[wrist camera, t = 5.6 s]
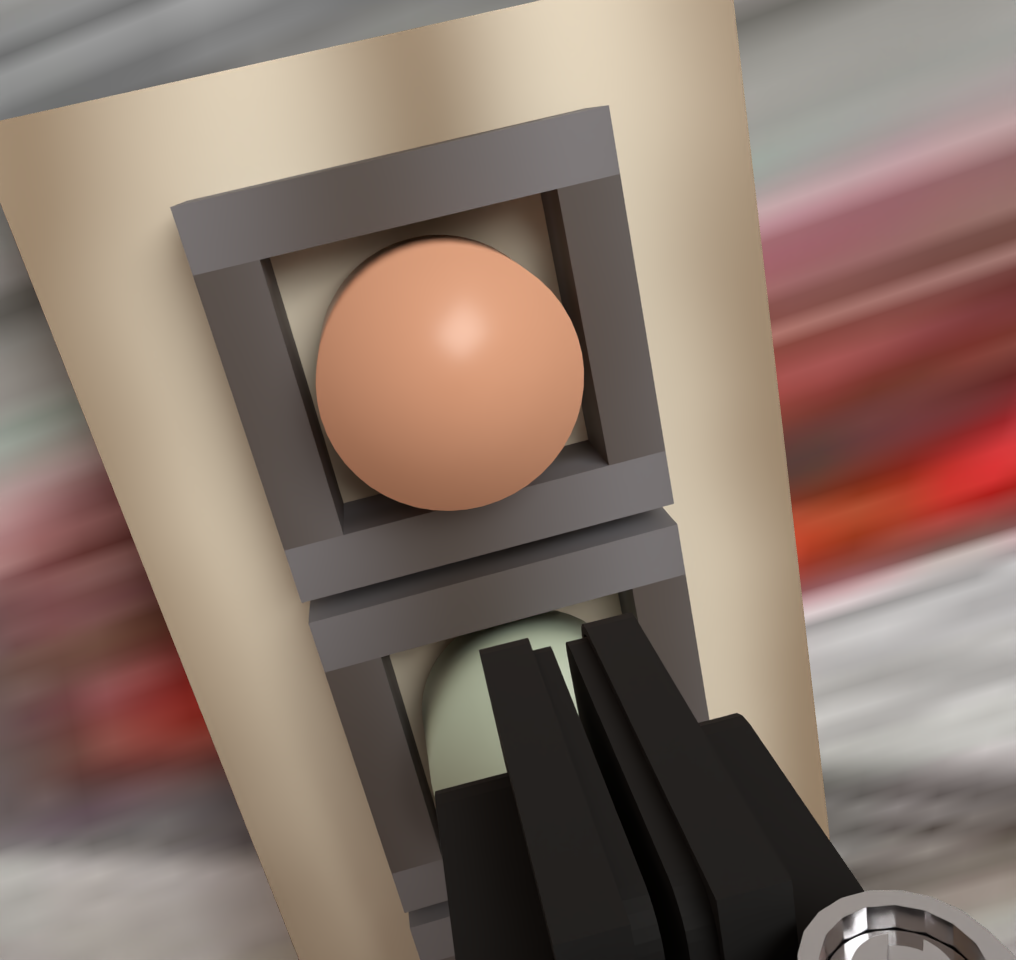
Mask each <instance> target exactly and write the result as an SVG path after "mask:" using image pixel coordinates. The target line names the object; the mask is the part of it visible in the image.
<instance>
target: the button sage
mask: <svg viewBox="0 0 1016 960" xmlns="http://www.w3.org/2000/svg"><path fill="white" fill-rule="evenodd" d="M585 623H586V622H585V621H583V620H581V619H579V618H577V617H575V616H572V615H570V614H567V613H563V612H560V611H555V610H552V611H549V612H545V613H541V614H538V615H534V616H530V617H527V618H523V619H519V620H516V621H512V622H508V623H505V624H501V625H497V626H494V627H490V628H486V629H483V630H479V631H475V632H472V633H468V634H464V635H461V636H457V637H456V638H455V639H454V640H453V641H452V642H451V643H450V644H449V645H448V646H447V647H446V648H445V649H444V651H443V652H442V653H441V654H440V656H439V657H438V658H437V660H436V662H435V663H434V665H433V667H432V669H431V671H430V673H429V676H428V678H427V681H426V684H425V688H424V692H423V699H422V717H423V725H424V732H425V740H426V747H427V755H428V762H429V770H430V777H431V784H432V788H433V793H434V796H435V791H437V790H441V789H445V788H449V787H453V786H457V785H460V784H464V783H468V782H472V781H476V780H480V779H484V778H487V777H491V776H495V775H499V774H503V773H507V771H506V766H505V762H504V758H503V753H502V749H501V745H500V740H499V736H498V732H497V727H496V723H495V719H494V714H493V710H492V706H491V701H490V697H489V693H488V688H487V684H486V680H485V675H484V671H483V667H482V662H481V658H480V654H479V650H480V649H484V648H488V647H492V646H496V645H500V644H504V643H508V642H512V641H516V640H520V639H524V638H528V639H529V641H530V644H531V647H532V649H533V650H536V649H540V648H544V647H548V646H551V648H552V650H553V652H554V655H555V657H556V660H557V662H558V665H559V667H560V670H561V672H562V675H563V677H564V680H565V683H566V685H567V688H568V690H569V693H570V695H571V698H572V700H573V703H574V705H575V708H576V710H577V713H578V709H577V704H576V699H575V693H574V688H573V683H572V678H571V673H570V667H569V662H568V657H567V651H566V642H568V641H573V640H577V639H581V638H582V632H581V626H582V624H585ZM578 715H579V714H578Z"/></svg>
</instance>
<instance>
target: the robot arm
mask: <svg viewBox="0 0 1016 960" xmlns="http://www.w3.org/2000/svg"><path fill="white" fill-rule="evenodd" d="M581 632H582V638H581V639H577V640H573V641H568V642H566V651H567V657H568V662H569V667H570V673H571V678H572V683H573V688H574V693H575V699H576V704H577V709H578V713H577V710H576V708H575V705H574V703H573V700H572V698H571V695H570V693H569V690H568V688H567V685H566V683H565V680H564V677H563V675H562V672H561V670H560V667H559V665H558V662H557V660H556V657H555V655H554V652H553V650H552V648H551V646H548V647H544V648H540V649H536V650H533V649H532V647H531V644H530V641H529V639H528V638H524V639H520V640H516V641H512V642H508V643H504V644H500V645H496V646H492V647H488V648H484V649H480V650H479V654H480V658H481V662H482V667H483V671H484V675H485V680H486V684H487V688H488V693H489V697H490V701H491V706H492V710H493V714H494V719H495V723H496V727H497V732H498V736H499V740H500V745H501V749H502V753H503V758H504V762H505V766H506V771H507V773H503V774H499V775H495V776H491V777H487V778H484V779H480V780H476V781H472V782H468V783H464V784H460V785H457V786H453V787H449V788H445V789H441V790H437V791H435V803H436V811H437V819H438V827H439V835H440V843H441V851H442V858H443V866H444V874H445V882H446V890H447V898H448V906H449V914H450V921H451V929H452V937H453V945H454V953H455V960H1016V956H1015V955H1014V954H1013V953H1012V952H1011V951H1010V950H1009V949H1008V948H1007V947H1005V946H1004V945H1003V944H1002V943H1001V942H1000V941H999V940H998V939H997V938H996V937H995V936H994V935H993V934H992V933H991V932H990V931H989V930H988V929H986V928H985V927H984V926H982V925H981V924H980V923H978V922H977V921H976V920H974V919H973V918H972V917H970V916H969V915H968V914H966V913H965V912H964V911H962V910H960V909H958V908H956V907H953V906H951V905H949V904H947V903H944V902H942V901H940V900H938V899H935V898H933V897H930V896H926V895H921V894H916V893H911V892H906V891H902V890H872V891H865V892H864V890H863V889H862V887H861V886H860V884H859V883H858V881H857V880H856V878H855V877H854V875H853V874H852V873H851V871H850V870H849V868H848V867H847V865H846V864H845V862H844V861H843V859H842V858H841V856H840V855H839V854H838V852H837V851H836V849H835V848H834V846H833V845H832V843H831V842H830V840H829V839H828V837H827V836H826V834H825V833H824V832H823V830H822V829H821V827H820V826H819V824H818V823H817V821H816V820H815V818H814V817H813V815H812V814H811V813H810V811H809V810H808V808H807V807H806V805H805V804H804V802H803V801H802V799H801V798H800V796H799V795H798V794H797V792H796V791H795V789H794V788H793V786H792V785H791V783H790V782H789V780H788V779H787V777H786V776H785V774H784V773H783V772H782V770H781V769H780V767H779V766H778V764H777V763H776V761H775V760H774V758H773V757H772V755H771V754H770V753H769V751H768V750H767V748H766V747H765V745H764V744H763V742H762V741H761V739H760V738H759V736H758V735H757V733H756V732H755V731H754V729H753V728H752V726H751V725H750V723H749V722H748V721H747V720H746V719H745V718H744V716H743V715H741V714H738V713H734V714H731V715H727V716H723V717H719V718H715V719H711V720H707V721H704V722H700V723H698V722H697V720H696V718H695V717H694V715H693V713H692V712H691V710H690V708H689V707H688V705H687V703H686V701H685V700H684V698H683V696H682V695H681V693H680V691H679V690H678V688H677V686H676V685H675V683H674V681H673V680H672V678H671V676H670V675H669V673H668V671H667V670H666V668H665V666H664V665H663V663H662V661H661V660H660V658H659V656H658V654H657V653H656V651H655V649H654V648H653V646H652V644H651V643H650V641H649V639H648V638H647V636H646V634H645V633H644V631H643V629H642V628H641V626H640V624H639V623H638V621H637V619H636V618H635V616H634V615H633V613H631V612H629V613H625V614H621V615H617V616H613V617H609V618H605V619H601V620H597V621H593V622H589V623H585V624H582V626H581ZM578 714H579V715H578Z"/></svg>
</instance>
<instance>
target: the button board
mask: <svg viewBox="0 0 1016 960" xmlns="http://www.w3.org/2000/svg"><path fill="white" fill-rule="evenodd" d="M0 203H1V206H2V208H3V211H4V213H5V216H6V218H7V221H8V224H9V226H10V229H11V231H12V234H13V236H14V239H15V241H16V244H17V246H18V249H19V251H20V254H21V256H22V259H23V262H24V264H25V267H26V269H27V272H28V274H29V277H30V279H31V282H32V284H33V287H34V289H35V292H36V294H37V297H38V300H39V302H40V305H41V307H42V310H43V312H44V315H45V317H46V320H47V322H48V325H49V327H50V330H51V333H52V335H53V338H54V340H55V343H56V345H57V348H58V350H59V353H60V355H61V358H62V360H63V363H64V365H65V368H66V371H67V373H68V376H69V378H70V381H71V383H72V386H73V388H74V391H75V393H76V396H77V398H78V401H79V403H80V406H81V409H82V411H83V414H84V416H85V419H86V421H87V424H88V426H89V429H90V431H91V434H92V436H93V439H94V441H95V444H96V447H97V449H98V452H99V454H100V457H101V459H102V462H103V464H104V467H105V469H106V472H107V474H108V477H109V479H110V482H111V485H112V487H113V490H114V492H115V495H116V497H117V500H118V502H119V505H120V507H121V510H122V512H123V515H124V518H125V520H126V523H127V525H128V528H129V530H130V533H131V535H132V538H133V540H134V543H135V545H136V548H137V550H138V553H139V556H140V558H141V561H142V563H143V566H144V568H145V571H146V573H147V576H148V578H149V581H150V583H151V586H152V588H153V591H154V594H155V596H156V599H157V601H158V604H159V606H160V609H161V611H162V614H163V616H164V619H165V621H166V624H167V626H168V629H169V632H170V634H171V637H172V639H173V642H174V644H175V647H176V649H177V652H178V654H179V657H180V659H181V662H182V664H183V667H184V670H185V672H186V675H187V677H188V680H189V682H190V685H191V687H192V690H193V692H194V695H195V697H196V700H197V702H198V705H199V708H200V710H201V713H202V715H203V718H204V720H205V723H206V725H207V728H208V730H209V733H210V735H211V738H212V741H213V743H214V746H215V748H216V751H217V753H218V756H219V758H220V761H221V763H222V766H223V768H224V771H225V773H226V776H227V779H228V781H229V784H230V786H231V789H232V791H233V794H234V796H235V799H236V801H237V804H238V806H239V809H240V811H241V814H242V817H243V819H244V822H245V824H246V827H247V829H248V832H249V834H250V837H251V839H252V842H253V844H254V847H255V849H256V852H257V855H258V857H259V860H260V862H261V865H262V867H263V870H264V872H265V875H266V877H267V880H268V882H269V885H270V887H271V890H272V893H273V895H274V898H275V900H276V903H277V905H278V908H279V910H280V913H281V915H282V918H283V920H284V923H285V926H286V928H287V931H288V933H289V936H290V938H291V941H292V943H293V946H294V948H295V951H296V953H297V956H298V958H299V960H455V953H454V945H453V937H452V929H451V921H450V914H449V906H448V898H447V890H446V882H445V874H444V866H443V858H442V851H441V843H440V835H439V827H438V819H437V811H436V803H435V796H434V793H433V788H432V784H431V777H430V770H429V762H428V755H427V747H426V740H425V732H424V725H423V717H422V699H423V692H424V688H425V684H426V681H427V678H428V676H429V673H430V671H431V669H432V667H433V665H434V663H435V662H436V660H437V658H438V657H439V656H440V654H441V653H442V652H443V651H444V649H445V648H446V647H447V646H448V645H449V644H450V643H451V642H452V641H453V640H454V639H455V638H456V637H457V636H461V635H464V634H468V633H472V632H475V631H479V630H483V629H486V628H490V627H494V626H497V625H501V624H505V623H508V622H512V621H516V620H519V619H523V618H527V617H530V616H534V615H538V614H541V613H545V612H549V611H552V610H555V611H560V612H563V613H567V614H570V615H572V616H575V617H577V618H579V619H581V620H583V621H585V622H586V623H589V622H593V621H597V620H601V619H605V618H609V617H613V616H617V615H621V614H625V613H629V612H631V613H633V615H634V616H635V618H636V619H637V621H638V623H639V624H640V626H641V628H642V629H643V631H644V633H645V634H646V636H647V638H648V639H649V641H650V643H651V644H652V646H653V648H654V649H655V651H656V653H657V654H658V656H659V658H660V660H661V661H662V663H663V665H664V666H665V668H666V670H667V671H668V673H669V675H670V676H671V678H672V680H673V681H674V683H675V685H676V686H677V688H678V690H679V691H680V693H681V695H682V696H683V698H684V700H685V701H686V703H687V705H688V707H689V708H690V710H691V712H692V713H693V715H694V717H695V718H696V720H697V722H698V723H700V722H704V721H707V720H711V719H715V718H719V717H723V716H727V715H731V714H734V713H738V714H741V715H743V716H744V718H745V719H746V720H747V721H748V722H749V723H750V725H751V726H752V728H753V729H754V731H755V732H756V733H757V735H758V736H759V738H760V739H761V741H762V742H763V744H764V745H765V747H766V748H767V750H768V751H769V753H770V754H771V755H772V757H773V758H774V760H775V761H776V763H777V764H778V766H779V767H780V769H781V770H782V772H783V773H784V774H785V776H786V777H787V779H788V780H789V782H790V783H791V785H792V786H793V788H794V789H795V791H796V792H797V794H798V795H799V796H800V798H801V799H802V801H803V802H804V804H805V805H806V807H807V808H808V810H809V811H810V813H811V814H812V815H813V817H814V818H815V820H816V821H817V823H818V824H819V826H820V827H821V829H822V830H823V832H824V833H825V834H826V836H827V837H828V839H829V840H830V837H829V829H828V820H827V811H826V803H825V794H824V785H823V776H822V768H821V759H820V750H819V742H818V733H817V724H816V715H815V707H814V698H813V689H812V681H811V672H810V663H809V654H808V646H807V637H806V628H805V620H804V611H803V602H802V593H801V585H800V576H799V567H798V559H797V550H796V541H795V533H794V524H793V515H792V506H791V498H790V489H789V480H788V472H787V463H786V454H785V445H784V437H783V428H782V419H781V411H780V402H779V393H778V384H777V376H776V367H775V358H774V350H773V341H772V332H771V323H770V315H769V306H768V297H767V289H766V280H765V271H764V262H763V254H762V245H761V236H760V228H759V219H758V210H757V201H756V193H755V184H754V175H753V167H752V158H751V149H750V140H749V132H748V123H747V114H746V106H745V97H744V88H743V80H742V71H741V62H740V53H739V45H738V36H737V27H736V19H735V10H734V1H733V0H540V1H536V2H531V3H527V4H522V5H518V6H513V7H509V8H504V9H500V10H495V11H491V12H486V13H482V14H477V15H473V16H468V17H464V18H459V19H455V20H450V21H446V22H441V23H437V24H433V25H428V26H424V27H419V28H415V29H410V30H406V31H401V32H397V33H392V34H388V35H383V36H379V37H374V38H370V39H365V40H361V41H356V42H352V43H347V44H343V45H338V46H334V47H329V48H325V49H320V50H316V51H311V52H307V53H302V54H298V55H293V56H289V57H284V58H280V59H275V60H271V61H266V62H262V63H257V64H253V65H249V66H244V67H240V68H235V69H231V70H226V71H222V72H217V73H213V74H208V75H204V76H199V77H195V78H190V79H186V80H181V81H177V82H172V83H168V84H163V85H159V86H154V87H150V88H145V89H141V90H136V91H132V92H127V93H123V94H118V95H114V96H109V97H105V98H100V99H96V100H91V101H87V102H82V103H78V104H73V105H69V106H65V107H60V108H56V109H51V110H47V111H42V112H38V113H33V114H29V115H24V116H20V117H15V118H11V119H6V120H2V121H0ZM425 235H452V236H461V237H465V238H469V239H473V240H476V241H479V242H481V243H484V244H487V245H489V246H491V247H493V248H495V249H497V250H498V251H500V252H502V253H504V254H505V255H507V256H508V257H509V258H511V259H512V260H514V261H515V262H516V263H518V264H519V265H520V266H522V267H523V268H525V269H526V270H527V271H529V272H530V273H531V274H533V275H534V276H535V277H537V278H538V279H539V280H540V281H541V282H542V283H543V284H544V285H545V286H546V287H547V288H549V289H550V290H551V291H552V293H553V294H554V295H555V297H556V298H557V299H558V300H559V302H560V303H561V304H562V306H563V307H564V309H565V311H566V313H567V314H568V316H569V318H570V319H571V322H572V324H573V326H574V329H575V331H576V334H577V336H578V340H579V344H580V348H581V351H582V358H583V366H584V388H583V395H582V402H581V406H580V410H579V414H578V417H577V420H576V423H575V425H574V428H573V430H572V432H571V435H570V436H569V438H568V440H567V442H566V443H565V445H564V447H563V449H562V450H561V451H560V453H559V454H558V455H557V457H556V458H555V459H554V461H553V462H552V463H551V464H550V465H549V466H548V467H547V468H546V469H545V471H544V472H543V473H542V474H541V475H539V476H538V477H537V478H536V479H535V480H533V481H532V482H531V483H530V484H528V485H527V486H525V487H524V488H522V489H521V490H519V491H517V492H516V493H514V494H512V495H510V496H508V497H506V498H504V499H502V500H500V501H497V502H494V503H491V504H488V505H485V506H482V507H477V508H472V509H467V510H454V511H441V510H429V509H423V508H418V507H413V506H410V505H407V504H404V503H400V502H398V501H396V500H394V499H391V498H389V497H387V496H385V495H383V494H381V493H380V492H378V491H376V490H375V489H373V488H372V487H370V486H369V485H367V484H366V483H365V482H364V481H363V480H361V479H360V478H359V477H358V476H356V474H355V473H354V472H353V471H352V470H351V469H350V468H349V467H348V466H347V465H346V464H345V463H344V461H343V460H342V459H341V457H340V456H339V454H338V453H337V452H336V450H335V449H334V447H333V445H332V443H331V441H330V439H329V437H328V436H327V433H326V431H325V428H324V425H323V423H322V420H321V417H320V412H319V408H318V403H317V395H316V366H317V358H318V350H319V342H320V336H321V331H322V325H323V322H324V319H325V316H326V313H327V310H328V307H329V305H330V303H331V301H332V299H333V297H334V295H335V294H336V292H337V291H338V289H339V288H340V286H341V285H342V283H343V282H344V280H345V279H346V278H347V277H348V276H349V275H350V274H351V273H352V271H353V270H354V269H355V268H356V267H358V266H359V265H360V264H361V263H362V262H363V261H365V260H366V259H367V258H368V257H370V256H372V255H373V254H375V253H376V252H378V251H379V250H381V249H383V248H385V247H387V246H389V245H392V244H394V243H396V242H399V241H403V240H406V239H409V238H413V237H419V236H425Z"/></svg>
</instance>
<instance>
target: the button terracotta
mask: <svg viewBox="0 0 1016 960" xmlns="http://www.w3.org/2000/svg"><path fill="white" fill-rule="evenodd" d="M583 388H584V366H583V358H582V351H581V348H580V344H579V340H578V336H577V334H576V331H575V329H574V326H573V324H572V322H571V319H570V318H569V316H568V314H567V313H566V311H565V309H564V307H563V306H562V304H561V303H560V302H559V300H558V299H557V298H556V297H555V295H554V294H553V293H552V291H551V290H550V289H549V288H547V287H546V286H545V285H544V284H543V283H542V282H541V281H540V280H539V279H538V278H537V277H535V276H534V275H533V274H531V273H530V272H529V271H527V270H526V269H525V268H523V267H522V266H520V265H519V264H518V263H516V262H515V261H514V260H512V259H511V258H509V257H508V256H507V255H505V254H504V253H502V252H500V251H498V250H497V249H495V248H493V247H491V246H489V245H487V244H484V243H481V242H479V241H476V240H473V239H469V238H465V237H461V236H452V235H425V236H419V237H413V238H409V239H406V240H403V241H399V242H396V243H394V244H392V245H389V246H387V247H385V248H383V249H381V250H379V251H378V252H376V253H375V254H373V255H372V256H370V257H368V258H367V259H366V260H365V261H363V262H362V263H361V264H360V265H359V266H358V267H356V268H355V269H354V270H353V271H352V273H351V274H350V275H349V276H348V277H347V278H346V279H345V280H344V282H343V283H342V285H341V286H340V288H339V289H338V291H337V292H336V294H335V295H334V297H333V299H332V301H331V303H330V305H329V307H328V310H327V313H326V316H325V319H324V322H323V325H322V331H321V336H320V342H319V350H318V358H317V366H316V395H317V403H318V408H319V412H320V417H321V420H322V423H323V425H324V428H325V431H326V433H327V436H328V437H329V439H330V441H331V443H332V445H333V447H334V449H335V450H336V452H337V453H338V454H339V456H340V457H341V459H342V460H343V461H344V463H345V464H346V465H347V466H348V467H349V468H350V469H351V470H352V471H353V472H354V473H355V474H356V476H358V477H359V478H360V479H361V480H363V481H364V482H365V483H366V484H367V485H369V486H370V487H372V488H373V489H375V490H376V491H378V492H380V493H381V494H383V495H385V496H387V497H389V498H391V499H394V500H396V501H398V502H400V503H404V504H407V505H410V506H413V507H418V508H423V509H429V510H441V511H454V510H467V509H472V508H477V507H482V506H485V505H488V504H491V503H494V502H497V501H500V500H502V499H504V498H506V497H508V496H510V495H512V494H514V493H516V492H517V491H519V490H521V489H522V488H524V487H525V486H527V485H528V484H530V483H531V482H532V481H533V480H535V479H536V478H537V477H538V476H539V475H541V474H542V473H543V472H544V471H545V469H546V468H547V467H548V466H549V465H550V464H551V463H552V462H553V461H554V459H555V458H556V457H557V455H558V454H559V453H560V451H561V450H562V449H563V447H564V445H565V443H566V442H567V440H568V438H569V436H570V435H571V432H572V430H573V428H574V425H575V423H576V420H577V417H578V414H579V410H580V406H581V402H582V395H583Z"/></svg>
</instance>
